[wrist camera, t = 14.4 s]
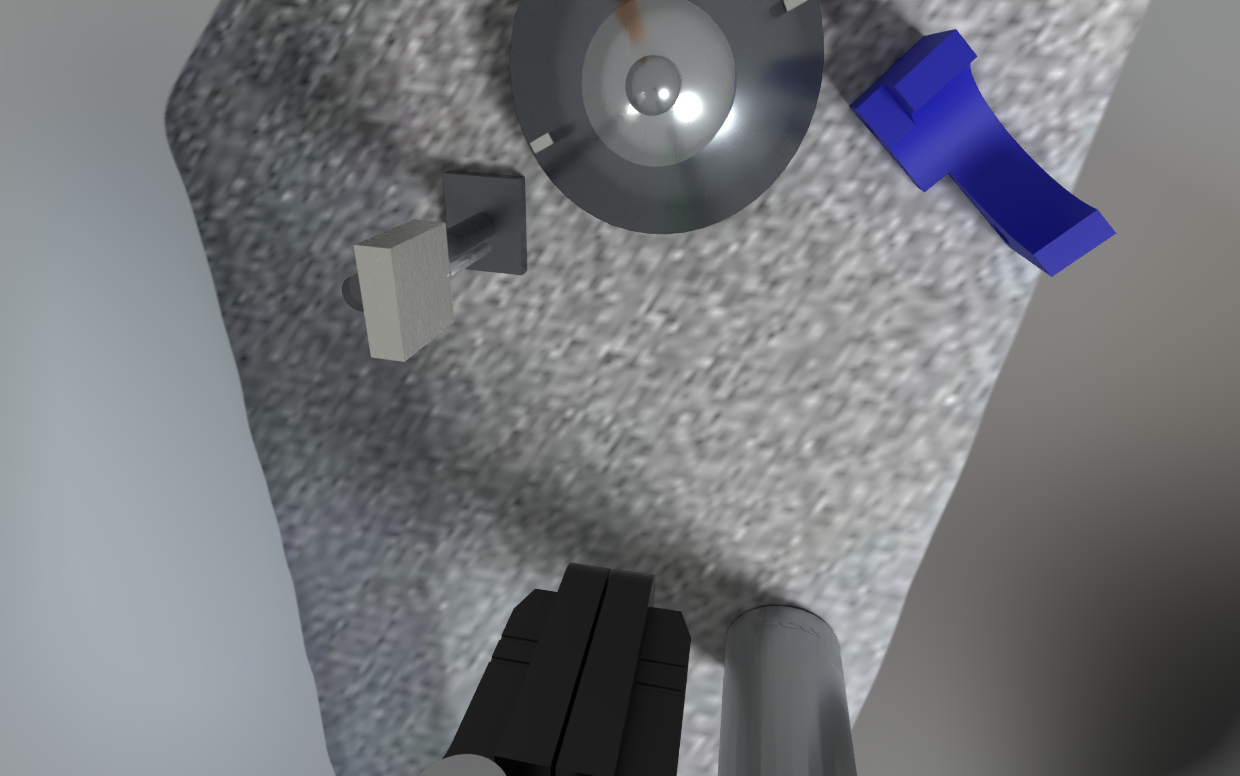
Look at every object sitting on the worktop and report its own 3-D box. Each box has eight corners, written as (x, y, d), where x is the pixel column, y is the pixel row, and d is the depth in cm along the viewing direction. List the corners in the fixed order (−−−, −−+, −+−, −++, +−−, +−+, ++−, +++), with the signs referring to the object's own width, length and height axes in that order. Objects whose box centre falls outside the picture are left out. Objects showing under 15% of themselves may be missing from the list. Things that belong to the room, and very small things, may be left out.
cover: (759, 116, 31) (758, 124, 27) (638, 179, 34) (619, 196, 29) (702, -28, 29) (691, -46, 25) (577, 51, 32) (546, 48, 27)
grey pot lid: (863, 149, 33) (891, 170, 26) (603, 268, 39) (569, 311, 32) (749, -193, 28) (746, -281, 21) (469, 4, 34) (394, -14, 27)
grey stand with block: (527, 270, 41) (408, 372, 27) (456, 263, 42) (305, 358, 28) (524, 177, 38) (390, 236, 25) (449, 171, 39) (278, 225, 25)
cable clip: (848, 106, 33) (865, 112, 28) (923, 36, 31) (955, 29, 26) (983, 264, 36) (1021, 297, 30) (1060, 208, 34) (1116, 233, 28)
